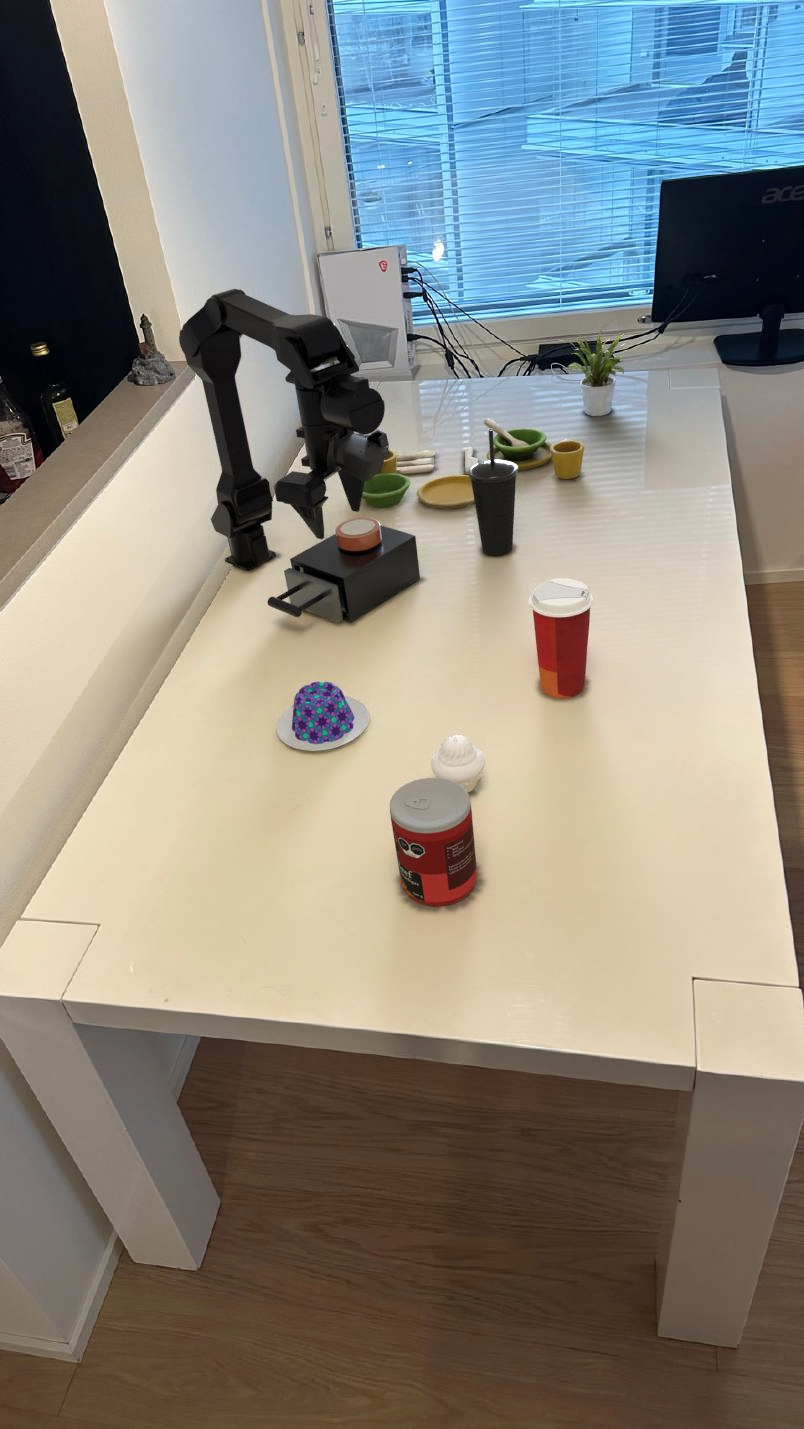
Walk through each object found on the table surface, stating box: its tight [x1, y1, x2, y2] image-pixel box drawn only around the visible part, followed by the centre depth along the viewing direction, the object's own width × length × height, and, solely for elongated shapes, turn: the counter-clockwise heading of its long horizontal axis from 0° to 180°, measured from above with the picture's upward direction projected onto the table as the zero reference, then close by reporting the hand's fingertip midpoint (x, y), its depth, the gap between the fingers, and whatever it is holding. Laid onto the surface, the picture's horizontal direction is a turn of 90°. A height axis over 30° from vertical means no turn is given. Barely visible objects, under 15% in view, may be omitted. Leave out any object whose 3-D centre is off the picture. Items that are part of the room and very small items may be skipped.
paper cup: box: [527, 577, 594, 699], centre depth 127 cm, size 8×8×14 cm
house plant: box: [558, 329, 628, 417], centre depth 203 cm, size 14×14×16 cm
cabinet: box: [289, 524, 421, 624], centre depth 155 cm, size 16×12×8 cm
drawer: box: [267, 567, 346, 624], centre depth 152 cm, size 20×10×6 cm, turn 138°
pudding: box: [275, 681, 370, 752], centre depth 128 cm, size 12×12×5 cm
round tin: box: [334, 517, 382, 551], centre depth 153 cm, size 7×7×3 cm
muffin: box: [430, 734, 486, 794], centre depth 115 cm, size 6×6×7 cm
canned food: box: [389, 777, 478, 907], centre depth 102 cm, size 8×8×11 cm
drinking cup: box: [467, 428, 519, 557], centre depth 158 cm, size 8×8×20 cm
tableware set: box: [362, 417, 585, 509], centre depth 186 cm, size 41×28×6 cm
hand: (338, 524), depth 145 cm, fingers open, 9 cm apart
